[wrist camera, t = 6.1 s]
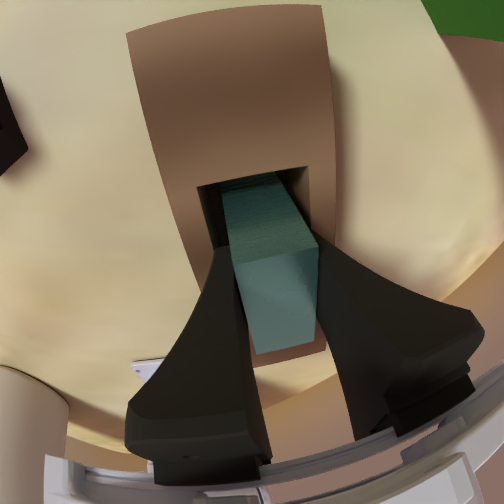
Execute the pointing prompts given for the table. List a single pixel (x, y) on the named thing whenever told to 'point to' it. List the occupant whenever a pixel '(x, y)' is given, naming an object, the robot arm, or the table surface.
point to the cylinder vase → (28, 435)
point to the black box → (9, 134)
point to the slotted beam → (240, 118)
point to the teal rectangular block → (271, 261)
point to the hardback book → (468, 17)
